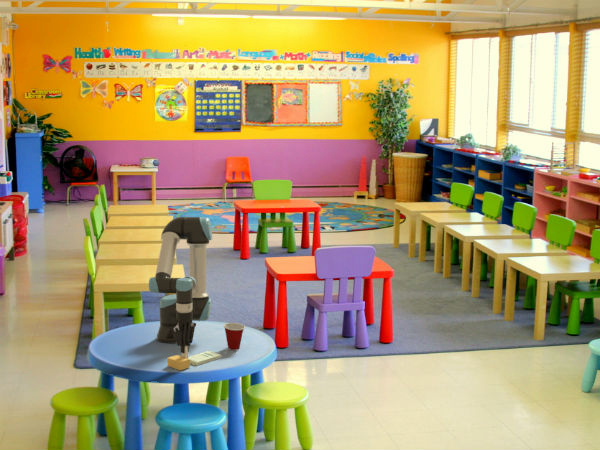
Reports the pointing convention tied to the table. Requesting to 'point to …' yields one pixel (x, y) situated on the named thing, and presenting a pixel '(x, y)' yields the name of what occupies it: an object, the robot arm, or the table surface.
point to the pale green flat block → (203, 357)
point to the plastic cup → (234, 335)
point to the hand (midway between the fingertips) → (184, 358)
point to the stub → (178, 362)
